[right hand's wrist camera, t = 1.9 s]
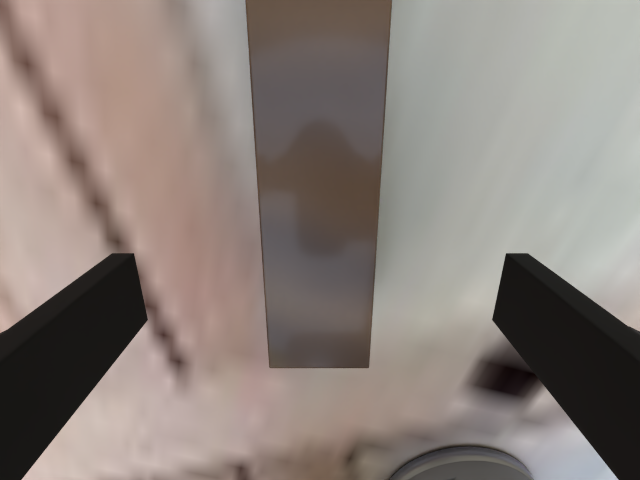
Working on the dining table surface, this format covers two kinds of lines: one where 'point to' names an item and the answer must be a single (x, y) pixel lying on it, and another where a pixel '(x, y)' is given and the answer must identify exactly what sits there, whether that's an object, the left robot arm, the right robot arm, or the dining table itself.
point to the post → (318, 172)
